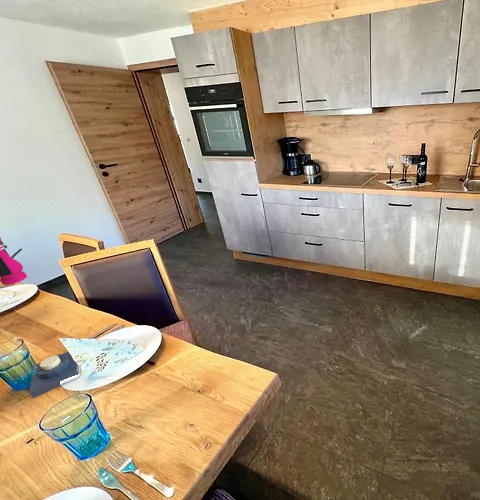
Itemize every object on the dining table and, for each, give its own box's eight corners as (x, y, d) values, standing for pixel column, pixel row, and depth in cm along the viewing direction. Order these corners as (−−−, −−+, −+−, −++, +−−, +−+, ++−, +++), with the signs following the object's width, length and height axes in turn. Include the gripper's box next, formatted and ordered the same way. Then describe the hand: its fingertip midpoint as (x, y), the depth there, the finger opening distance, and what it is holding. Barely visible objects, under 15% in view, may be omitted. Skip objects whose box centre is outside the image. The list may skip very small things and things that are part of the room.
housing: (37, 370, 87) (30, 361, 85) (80, 352, 92) (74, 343, 91) (33, 397, 79) (25, 388, 77) (80, 376, 84) (73, 367, 82)
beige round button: (43, 364, 84) (40, 360, 83) (61, 357, 86) (58, 353, 86) (42, 373, 81) (39, 369, 81) (61, 365, 84) (57, 361, 83)
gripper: (-45, 204, 95) (-2, 263, 106) (-65, 220, 81) (-13, 287, 92) (-12, 199, 99) (26, 256, 110) (-26, 213, 86) (19, 278, 97)
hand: (8, 270), depth 101 cm, fingers closed on pepper mill, 7 cm apart
